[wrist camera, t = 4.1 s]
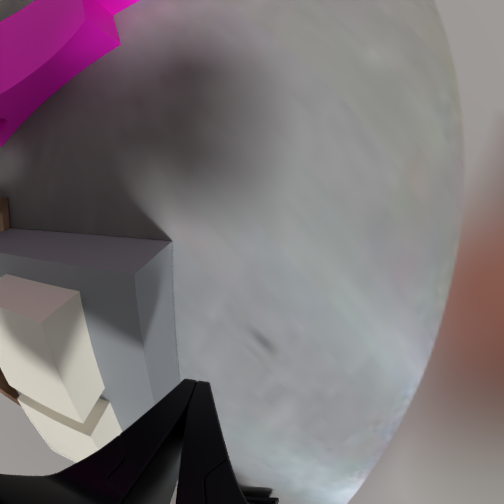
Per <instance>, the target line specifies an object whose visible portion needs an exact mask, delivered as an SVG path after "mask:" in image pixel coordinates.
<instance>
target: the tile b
mask: <svg viewBox="0 0 504 504" xmlns="http://www.w3.org/2000/svg"><path fill="white" fill-rule="evenodd" d="M17 400H18V401H19V403H20V405H21V406H22V408H23V409H24V411H25V412H26V414H27V416H28V417H29V419H30V420H31V422H32V423H33V425H34V426H35V428H36V429H37V431H38V432H39V433H40V435H41V436H42V437H43V439H44V440H45V442H46V443H47V444H48V445H49V447H50V448H51V449H52V450H53V451H54V452H56V453H58V454H60V455H62V456H64V457H66V458H68V459H70V460H72V461H74V462H76V463H77V462H79V461H81V460H83V459H84V458H86V457H88V456H90V455H91V454H93V453H94V452H96V451H98V450H99V449H101V448H102V447H104V446H105V445H106V444H108V443H109V442H110V441H112V440H113V439H114V438H115V437H117V436H118V435H119V436H120V433H122V430H121V427H120V425H119V423H118V420H117V418H116V416H115V413H114V411H113V408H112V406H111V403H110V402H109V401H106V400H103V399H100V398H98V400H97V402H96V403H95V405H94V406H93V408H92V410H91V411H90V413H89V415H88V416H87V418H86V419H85V421H84V423H80V422H78V421H76V420H74V419H71V418H69V417H67V416H65V415H63V414H60V413H58V412H56V411H54V410H52V409H50V408H48V407H46V406H44V405H42V404H41V403H39V402H37V401H35V400H33V399H31V398H30V397H28V396H26V395H25V394H23V393H22V394H21V395H20V396H19V397H18V398H17Z"/></svg>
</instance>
